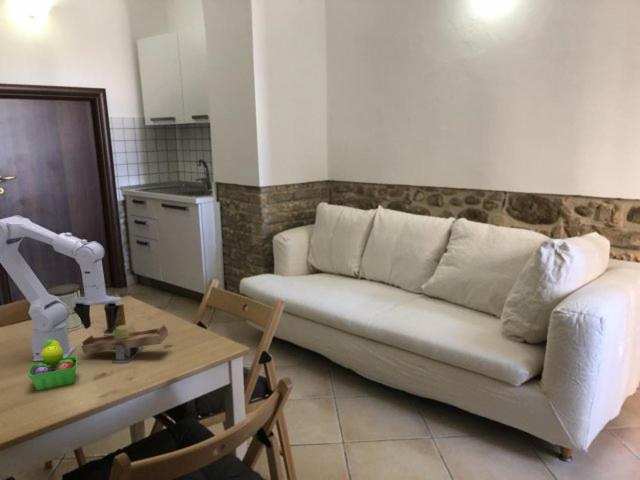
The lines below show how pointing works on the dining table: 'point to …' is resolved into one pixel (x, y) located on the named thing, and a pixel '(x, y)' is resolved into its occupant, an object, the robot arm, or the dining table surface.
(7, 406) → the dining table surface
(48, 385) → the fruit basket
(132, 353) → the pivot stand
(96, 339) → the balance beam
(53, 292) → the coffee can
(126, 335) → the wooden cube block
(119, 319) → the condiment
